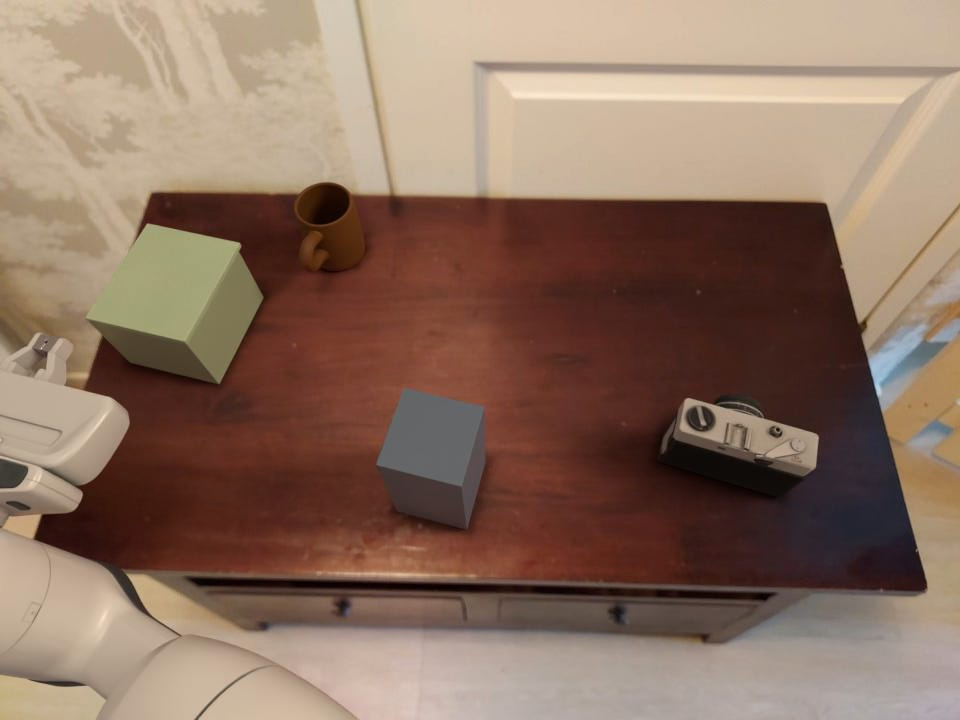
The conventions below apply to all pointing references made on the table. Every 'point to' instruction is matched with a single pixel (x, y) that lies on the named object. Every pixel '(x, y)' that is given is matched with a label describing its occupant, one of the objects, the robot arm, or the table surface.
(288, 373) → the table surface
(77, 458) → the robot arm
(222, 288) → the box
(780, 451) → the camera
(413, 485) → the block
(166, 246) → the box lid
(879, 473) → the table surface
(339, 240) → the mug
